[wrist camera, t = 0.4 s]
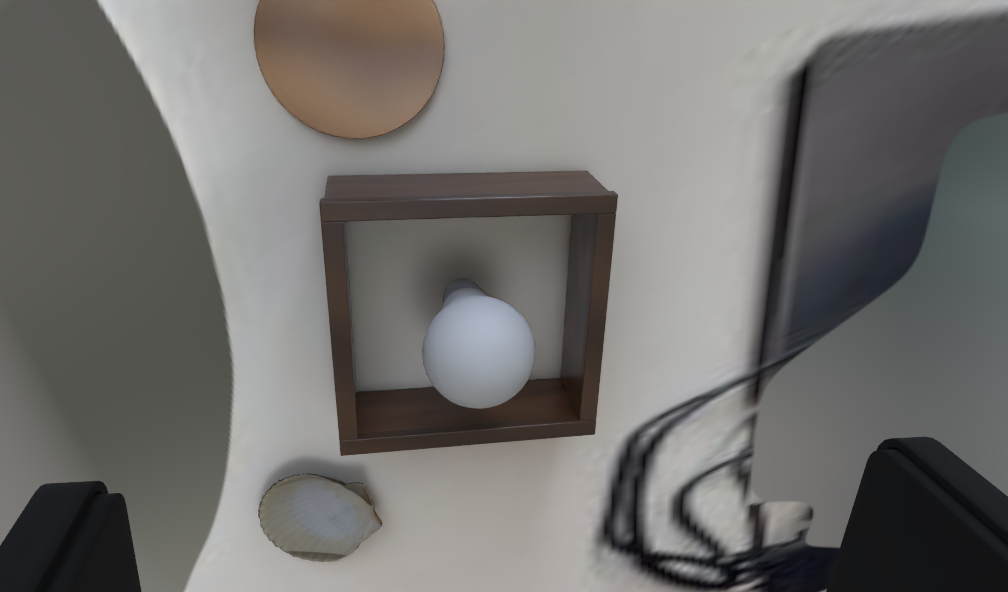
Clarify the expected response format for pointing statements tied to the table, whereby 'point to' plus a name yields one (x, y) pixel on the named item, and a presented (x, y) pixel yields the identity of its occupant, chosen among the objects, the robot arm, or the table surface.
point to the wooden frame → (425, 411)
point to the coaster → (350, 61)
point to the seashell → (317, 516)
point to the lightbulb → (477, 348)
